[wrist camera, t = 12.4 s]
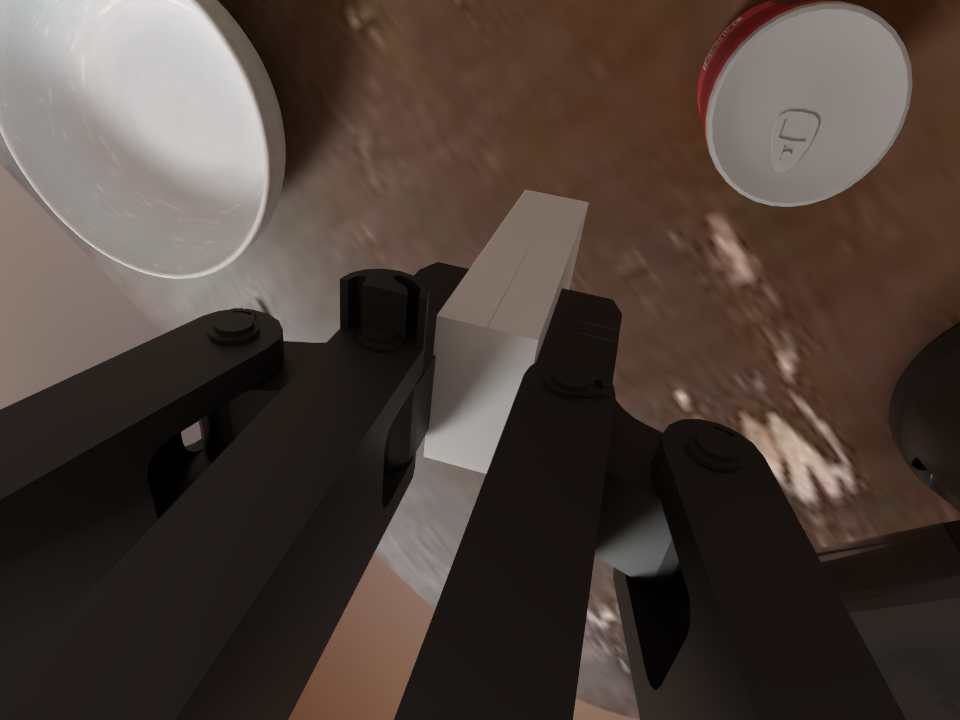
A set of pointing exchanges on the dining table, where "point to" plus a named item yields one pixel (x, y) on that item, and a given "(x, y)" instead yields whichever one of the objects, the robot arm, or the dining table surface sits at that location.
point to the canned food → (802, 98)
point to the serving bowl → (143, 127)
